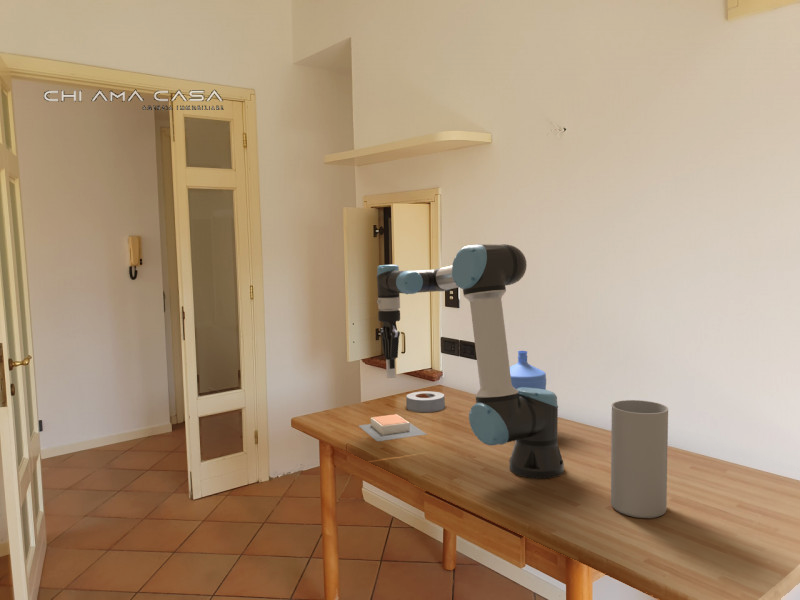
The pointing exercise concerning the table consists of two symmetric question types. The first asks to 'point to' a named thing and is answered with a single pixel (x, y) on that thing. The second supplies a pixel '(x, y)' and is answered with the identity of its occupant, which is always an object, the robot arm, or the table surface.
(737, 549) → the table surface
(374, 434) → the rubber mat
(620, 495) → the cylinder vase
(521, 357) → the water jug
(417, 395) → the tape roll
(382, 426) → the wooden plaque
